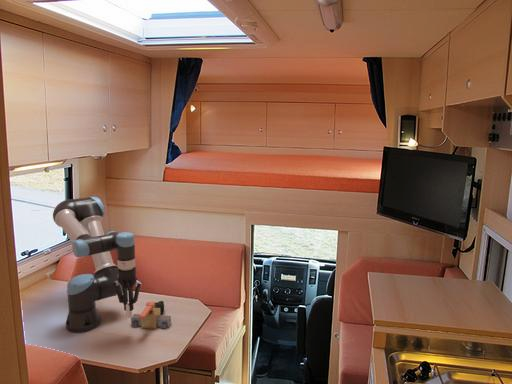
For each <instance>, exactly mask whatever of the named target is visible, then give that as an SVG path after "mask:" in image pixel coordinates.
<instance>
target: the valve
mask: <svg viewBox="0 0 512 384" xmlns="http://www.w3.org/2000/svg"><path fill="white" fill-rule="evenodd" d="M140 314H141V313H139V314H138V313H133V314H132V316H131V317H130V321H131V322H130V325H131V327H132V328H139V327H141V329H150V330H151V329H152V330H156V329H157V328H160V329H161V330H167V329H169V328H170V326H171V324H172V316H171V315H163V314H162V315H161V314H160V308H152V309H151V310H150V312H149V313H148V314H147V316H146V317H145V319H139V316H140Z"/></svg>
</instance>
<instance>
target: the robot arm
mask: <svg viewBox="0 0 512 384" xmlns="http://www.w3.org/2000/svg"><path fill="white" fill-rule="evenodd" d="M104 216H105V207H104V204H103V202H102V200H101V199H100V198H99V197H97V196H87V197H81V198H80V197H79V198H71V199H65V200H63V201H61V202H59V203H58V204H57V205H56V206H55V208H54V209H53V211H52V220H53V222H54V223H55V224H56V225H57V227H59V228H62V230H63V231H64V232H65V234H66V235H67V236H68V237H69V239H70V240H71V242H72V244H71V245H72V246H71V247H72V252H73V255H74V256H75V258H82V257H84V258H86V257H88V256H91V258H92V261H93V264H94V266H95V267H94V268H95V271H94V272H93V274H90V273H86V274H85V273H83V274H78V275H76V276H73V277H72V278H71V279H70V280H68V282H67V285H66V288H67V289H66V294H67V304H68V306H67V307H68V313H67V317H66V321H65V329H66V330H67V331H68V332H71V333H85V332H89V331H92V330H94V329H95V328H97V327H99V326H100V324H101V316H100V314H99V311H98V310H97V307H96V302H97V301H101V300H104V299H105V300H106V299H108V298H113V297H116V296H117V299H118V302H119V303H120V304H123V309H124V311H125V314H126V317H125V318H126V319H131V317H132V316H133V310H134V304H136V302H138V299H139V294H140V290H141V286H142V285H143V282H142V281H139V280H138V278H137V270H136V269H137V268H136V253H135V252H136V250H135V249H136V248H135V244H136V243H135V242H136V241H135V237H134V236H135V235H134V233H132V232H128V231H124V232H123V231H122V232H118V231H116V230H112V231H108V232H107V233H106V234H105V232H104V229H103V226H102V221H103V217H104ZM113 251H114V252H116V260H117V264H115V263H114V261H113V257H112V254H111V252H113ZM134 285H135V289H134ZM134 290H135V291H134Z"/></svg>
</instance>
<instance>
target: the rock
mask: <svg viewBox="0 0 512 384" xmlns="http://www.w3.org/2000/svg"><path fill="white" fill-rule="evenodd" d="M154 302H155V307H154V308H160V314H161V315H163V313H164V311H165V304H164V301H163V300H160V301H158V302H156V301H154Z"/></svg>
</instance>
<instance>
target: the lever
mask: <svg viewBox="0 0 512 384" xmlns="http://www.w3.org/2000/svg"><path fill="white" fill-rule="evenodd" d="M155 302H156V301H147V302H146V303H145V307H144V309H143V310H142V311H141V313H139V314H140V316H139V319H145V317H146V316H147V314H148V313H149V312H150V310H151V309H152V308H154V307H155Z"/></svg>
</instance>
